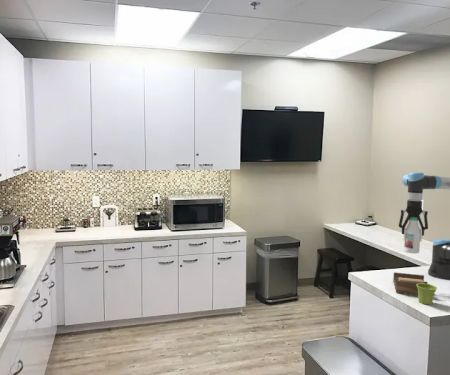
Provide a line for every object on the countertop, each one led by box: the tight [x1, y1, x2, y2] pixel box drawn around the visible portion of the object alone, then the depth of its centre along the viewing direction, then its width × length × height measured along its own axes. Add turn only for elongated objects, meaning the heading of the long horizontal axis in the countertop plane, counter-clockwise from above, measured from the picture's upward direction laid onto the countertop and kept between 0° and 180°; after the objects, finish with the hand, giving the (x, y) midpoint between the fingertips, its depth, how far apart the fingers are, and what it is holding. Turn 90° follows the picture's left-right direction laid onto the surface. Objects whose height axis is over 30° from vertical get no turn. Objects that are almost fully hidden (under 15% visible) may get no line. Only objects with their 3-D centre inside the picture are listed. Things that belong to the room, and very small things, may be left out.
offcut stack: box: [398, 278, 424, 283], centre depth 221 cm, size 4×13×8 cm, turn 73°
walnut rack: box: [392, 271, 428, 297], centre depth 226 cm, size 20×16×7 cm
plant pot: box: [416, 283, 438, 306], centre depth 207 cm, size 9×9×9 cm
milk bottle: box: [403, 217, 421, 254], centre depth 227 cm, size 8×8×20 cm
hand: (412, 240), depth 228 cm, fingers closed on milk bottle, 7 cm apart
